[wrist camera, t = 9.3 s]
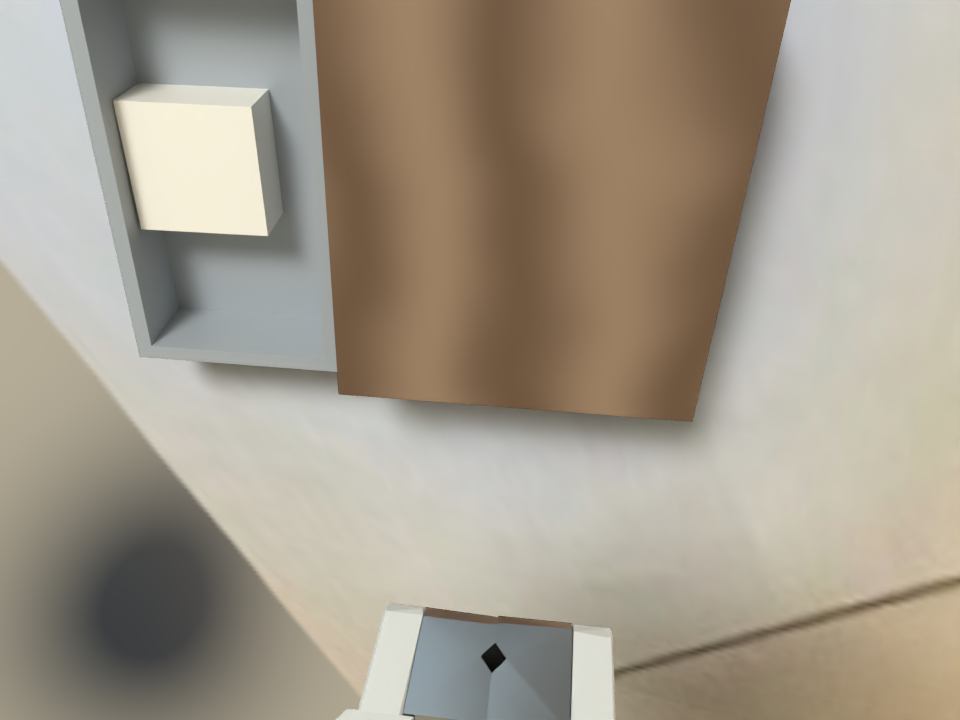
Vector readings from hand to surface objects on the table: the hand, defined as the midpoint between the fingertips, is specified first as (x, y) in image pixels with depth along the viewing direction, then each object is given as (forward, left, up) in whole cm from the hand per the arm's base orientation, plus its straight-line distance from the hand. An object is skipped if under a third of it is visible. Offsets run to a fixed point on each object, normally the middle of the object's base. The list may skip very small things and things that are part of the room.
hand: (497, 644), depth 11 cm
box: (+11, +2, -24) cm, 27 cm away
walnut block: (0, +2, -24) cm, 24 cm away
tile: (+12, +3, -22) cm, 25 cm away
